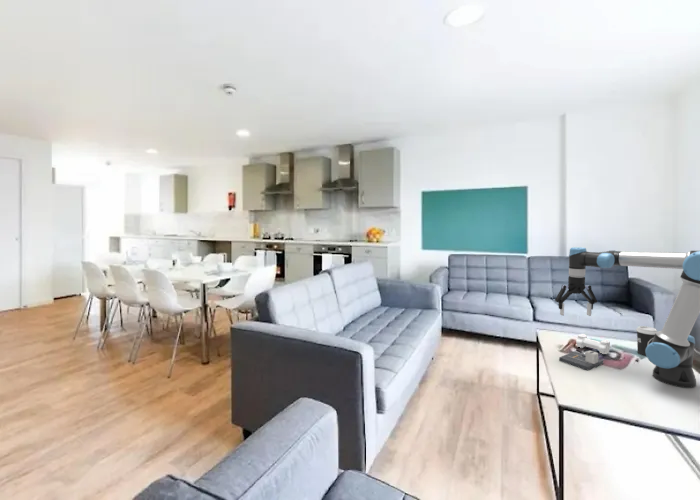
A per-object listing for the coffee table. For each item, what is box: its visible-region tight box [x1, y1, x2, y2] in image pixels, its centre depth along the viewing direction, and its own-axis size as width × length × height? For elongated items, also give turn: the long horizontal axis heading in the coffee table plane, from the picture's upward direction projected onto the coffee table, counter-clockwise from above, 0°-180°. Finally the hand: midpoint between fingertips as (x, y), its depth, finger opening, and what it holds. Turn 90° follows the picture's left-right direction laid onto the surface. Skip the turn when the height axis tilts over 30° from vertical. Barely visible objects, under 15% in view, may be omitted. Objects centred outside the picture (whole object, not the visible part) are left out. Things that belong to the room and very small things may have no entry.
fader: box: [585, 350, 599, 364], centre depth 181 cm, size 4×4×5 cm
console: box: [558, 351, 604, 372], centre depth 185 cm, size 14×16×4 cm
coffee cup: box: [635, 325, 658, 357], centre depth 195 cm, size 10×10×15 cm
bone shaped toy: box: [575, 333, 612, 355], centre depth 201 cm, size 15×9×8 cm, turn 34°
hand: (575, 315), depth 188 cm, fingers open, 13 cm apart
